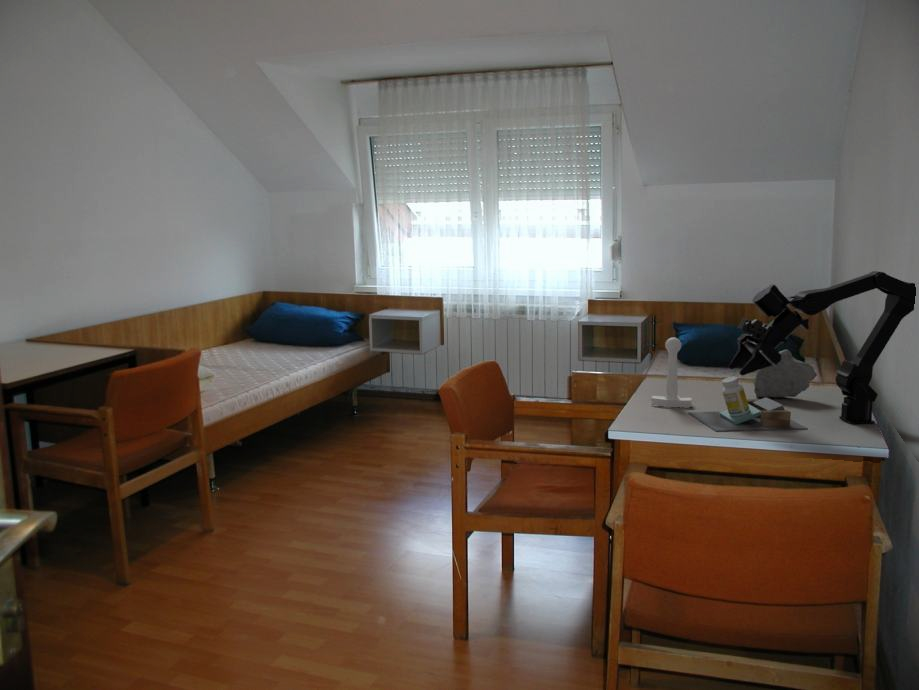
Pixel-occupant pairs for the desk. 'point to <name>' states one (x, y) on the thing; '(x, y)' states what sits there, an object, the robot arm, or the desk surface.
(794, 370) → the fossil
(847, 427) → the desk surface
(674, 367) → the joystick
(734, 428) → the dark grey flat mat
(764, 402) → the trapdoor
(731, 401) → the supplement bottle
